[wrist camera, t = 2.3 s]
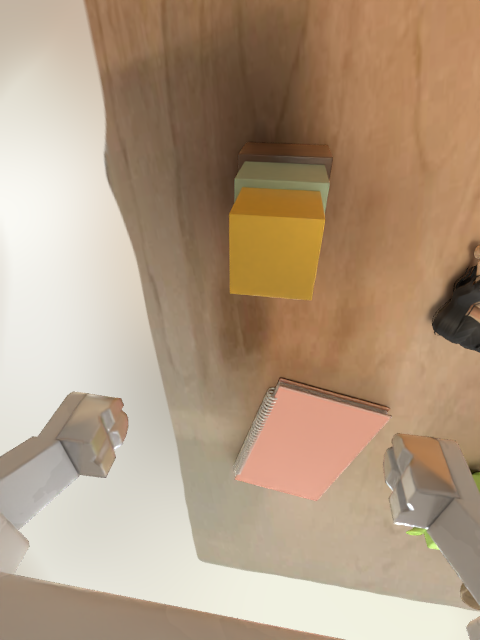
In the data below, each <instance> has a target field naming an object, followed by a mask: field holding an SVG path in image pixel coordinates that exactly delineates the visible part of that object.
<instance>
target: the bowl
mask: <svg viewBox="0 0 480 640" xmlns="http://www.w3.org/2000/svg"><path fill="white" fill-rule="evenodd" d="M460 597H461V599H462V601H463V602H464V603H465V604H467V605H468V606H469V607H471V608H474V609H477V610H480V606H479V604H478V603H477V601H476V600H475V599H474V597H473V596H472V594H471V593H470V592H469V590H468V589H467V587H466V586H465V585H464V583H463V584H462V586H461V590H460Z"/></svg>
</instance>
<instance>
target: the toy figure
mask: <svg viewBox="0 0 480 640" xmlns="http://www.w3.org/2000/svg"><path fill="white" fill-rule="evenodd" d="M474 257H475V258H477V259H479V261H478V265H477V266H474V267H475V268H474V270H473V272H472V274H471V276H470V277H468V276H469V275H470V273H471V271H472V268H473V267H472V268H471V269H470V270H469V272H468V274H467V276H466V277H464V278H463V279H461V280H460V281H459V282H458V283H457V285H456V290H455V291H454V290H453V296H452V298H451V299H452V300H451V299H450V300H451V301H450V302H449V303H448V304H447V305H446V306H445V307H443V308H442V309H441V310H440V311H439V312H438V314H437V315H436V317H435V319H434V321H433V320H432V322H433V324H432V326H433V330H434V334H435V332H437V333H438V334H439V335H441V336H443V337H444V338H445V339H447V340H449V341H450V342H452V343H456V344H460V345H461V346H463V347H464V348H467V349H470V350H475V351H477V352H480V245H479V246H478V247H476V249H475V252H474ZM467 269H468V268H467ZM466 271H467V270H466ZM465 274H466V272H465ZM465 274H464V275H465ZM464 275H463V276H464ZM467 277H468V278H467ZM460 278H461V277H460ZM460 278H459V279H460ZM465 278H466V279H465ZM464 279H465V280H464ZM475 280H476V283H475V284H474V285H473V282H474V281H475ZM455 283H456V282H455ZM472 285H473V286H472ZM454 286H455V284H454ZM446 303H447V302H446ZM446 303H445V304H446ZM440 308H441V307H440ZM440 308H439V309H440ZM436 312H437V311H436ZM435 314H436V313H435ZM433 317H434V316H433ZM435 335H436V334H435Z"/></svg>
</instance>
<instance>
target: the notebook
mask: <svg viewBox="0 0 480 640" xmlns="http://www.w3.org/2000/svg"><path fill="white" fill-rule="evenodd" d="M270 389H273V390H274V392H273V391H269V390H270ZM270 392H271V393H273V395H272V394H268V393H270ZM267 396H268V397H267ZM270 396H272V397H270ZM265 397H266V398H265ZM265 397H264V399H263V402H262V405H261V406H260V408H259V411H258V413H257V416H256V417H255V419H254V422H253V424H252V426H251V429H250V431H251V432H250V431H249V433H248V435H247V437H246V439H245V441H244V444H243V446H242V448H241V450H240V452H239V455H238V457H237V460H236V462H235V464H234V466H233V471H234V470H235V471H236V472H235V471H234V473H235V474H236V477H235V480H239V481H243V482H246V483H250V484H254V485H258V486H261V487H265V488H269V489H273V490H277V491H280V492H284V493H288V494H292V495H296V496H299V497H303V498H307V499H311V500H314V501H317V500H318V499H319V498H320V497H321V496H322V495H323V494H324V492H325V491H326V490H327V489H328V488H329V487H330V486H331V485H332V483H333V482H334V481H335V480H336V479H337V478H338V477H339V476H340V474H341V473H342V472H343V471H344V470H345V469H346V468H347V467H348V466H349V464H350V463H351V462H352V461H353V460H354V459H355V458H356V457H357V455H358V454H359V453H360V452H361V451H362V450H363V449H364V448H365V446H366V445H367V444H368V443H369V442H370V441H371V440H372V439H373V437H374V436H375V435H376V434H377V433H378V432H379V431H380V430H381V429H382V427H383V426H384V425H385V424H386V423H387V422H388V421H389V420H390V418H391V417H392V416H391V415H387V412H388V411H389V410H390V408H388V407H384V406H380V405H377V404H373V403H369V402H366V401H362V400H359V399H355V398H351V397H348V396H344V395H340V394H337V393H333V392H329V391H326V390H322V389H319V388H315V387H311V386H308V385H304V384H300V383H297V382H293V381H289V380H286V379H282V378H280V380H279V382H278V384H277V386H276V388H269V389H268V391H267V393H266V396H265ZM265 399H267V400H265ZM269 399H270V400H269ZM267 401H268V402H269V403H267ZM264 402H265V403H264ZM265 404H267V406H265ZM263 405H264V406H263ZM264 407H266V409H264ZM261 408H262V409H261ZM260 410H261V411H260ZM262 410H264V411H265V412H263V411H262ZM261 413H263V414H261ZM259 415H261V416H262V417H260V416H259ZM258 418H260V419H261V420H260V419H258ZM255 421H256V422H255ZM257 421H259V422H257ZM256 423H257V424H258V425H257V424H256ZM255 426H256V427H255ZM253 428H254V429H253ZM256 428H257V429H256ZM252 431H253V432H252ZM251 433H252V434H251ZM249 435H250V436H249ZM252 435H253V436H252ZM248 436H249V437H248ZM249 438H250V439H249ZM247 440H248V441H247ZM250 440H251V441H250ZM246 442H247V443H246ZM249 442H250V443H249ZM245 444H246V445H245ZM247 444H248V445H247ZM246 446H247V447H248V448H247V447H246ZM246 449H247V450H246ZM244 451H246V452H244ZM241 453H242V454H241ZM243 453H245V454H243ZM240 455H241V456H240ZM242 455H244V456H242ZM239 457H240V458H239ZM241 457H242V458H241ZM238 459H239V460H238ZM240 459H241V460H240ZM237 461H238V462H237ZM239 461H240V462H239ZM237 464H238V465H239V467H238V466H237ZM235 465H236V466H237V467H238V468H236V466H235ZM235 468H236V469H237V470H236V469H235Z"/></svg>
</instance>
